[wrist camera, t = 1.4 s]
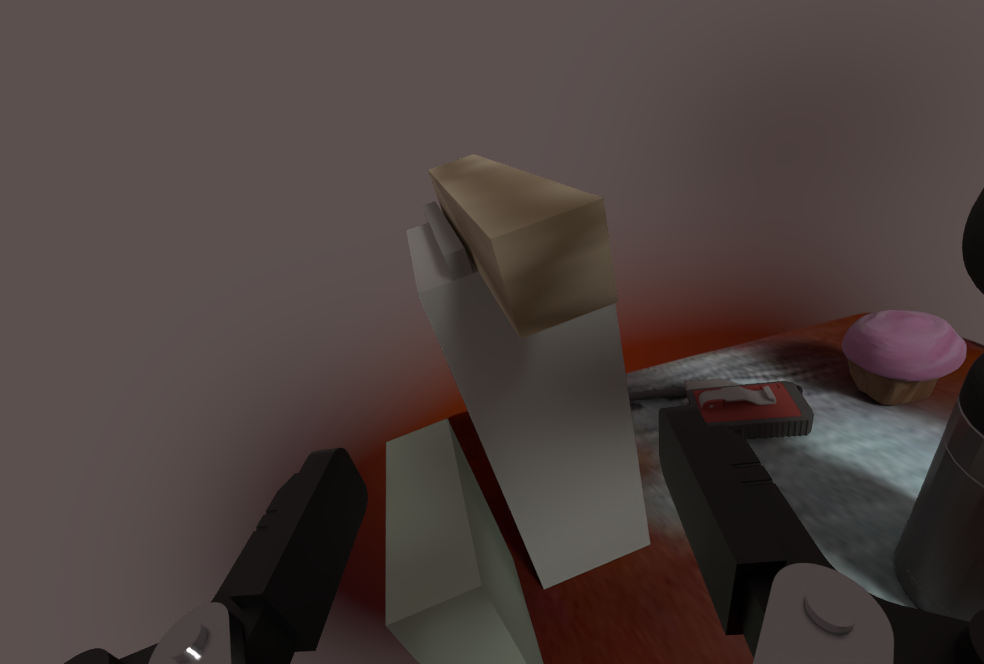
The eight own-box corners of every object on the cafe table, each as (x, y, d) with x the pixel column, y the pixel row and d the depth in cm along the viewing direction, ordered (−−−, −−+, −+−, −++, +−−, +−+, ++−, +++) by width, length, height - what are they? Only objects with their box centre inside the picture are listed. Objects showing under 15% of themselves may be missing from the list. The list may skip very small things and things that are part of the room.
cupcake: (970, 406, 41) (1006, 324, 36) (887, 432, 41) (911, 354, 36) (884, 359, 48) (903, 286, 43) (814, 381, 49) (826, 311, 44)
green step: (512, 557, 41) (447, 418, 31) (560, 721, 30) (481, 585, 20) (466, 576, 41) (386, 442, 31) (497, 749, 29) (385, 625, 19)
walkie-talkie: (791, 384, 50) (623, 399, 56) (794, 355, 48) (619, 374, 53) (827, 438, 43) (630, 449, 48) (833, 408, 40) (626, 423, 46)
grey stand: (583, 438, 51) (520, 171, 35) (650, 544, 38) (599, 198, 22) (503, 470, 51) (399, 213, 34) (544, 589, 38) (407, 268, 21)
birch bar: (487, 201, 35) (473, 154, 33) (618, 301, 15) (603, 197, 13) (444, 216, 35) (428, 170, 33) (520, 338, 15) (490, 239, 13)
